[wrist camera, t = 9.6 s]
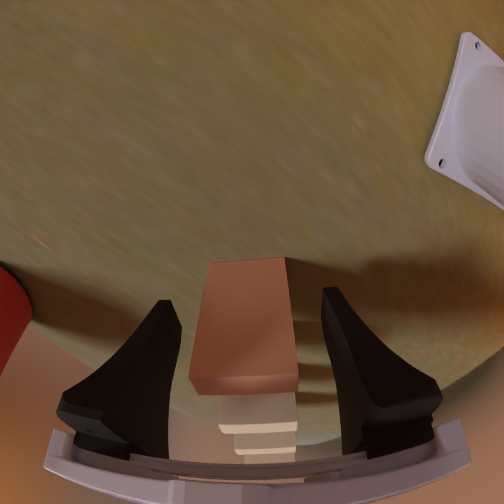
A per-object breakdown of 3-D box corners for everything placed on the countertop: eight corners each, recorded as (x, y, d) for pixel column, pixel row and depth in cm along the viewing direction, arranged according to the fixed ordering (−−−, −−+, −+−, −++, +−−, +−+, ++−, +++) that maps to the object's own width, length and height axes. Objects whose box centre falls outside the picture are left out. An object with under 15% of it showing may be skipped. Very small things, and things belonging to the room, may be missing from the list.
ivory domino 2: (237, 365, 21) (233, 449, 15) (289, 362, 21) (295, 446, 15) (240, 375, 22) (237, 454, 16) (289, 372, 22) (295, 452, 16)
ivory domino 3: (245, 394, 24) (244, 464, 18) (289, 391, 24) (294, 461, 18) (247, 400, 25) (246, 467, 19) (290, 398, 24) (294, 465, 19)
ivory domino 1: (225, 324, 18) (217, 424, 13) (287, 320, 18) (297, 421, 12) (229, 338, 19) (223, 433, 13) (288, 334, 19) (297, 430, 13)
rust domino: (209, 263, 15) (188, 376, 10) (284, 256, 15) (298, 372, 9) (214, 284, 16) (198, 394, 11) (285, 278, 16) (298, 391, 10)
